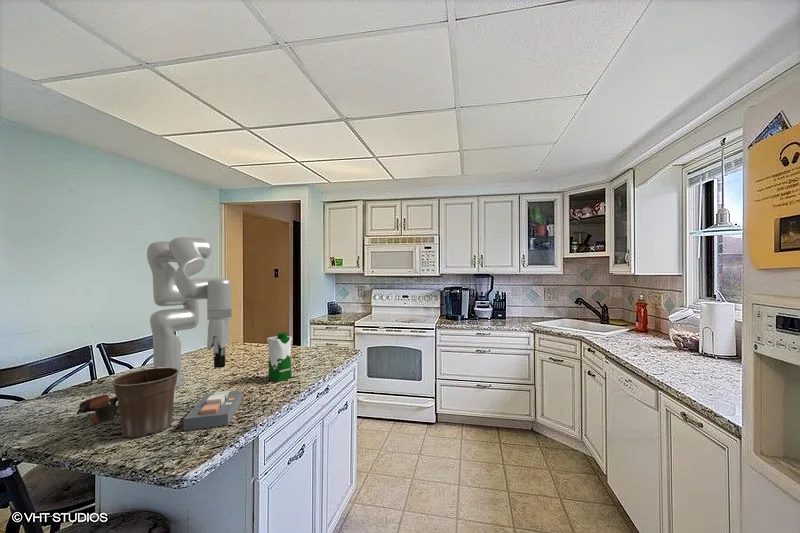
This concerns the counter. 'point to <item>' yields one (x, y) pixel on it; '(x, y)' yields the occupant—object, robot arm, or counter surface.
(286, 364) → the milk carton
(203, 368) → the counter surface
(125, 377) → the plant pot
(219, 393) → the sage key
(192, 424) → the keypad
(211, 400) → the cream key
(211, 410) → the terracotta key
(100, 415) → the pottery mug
